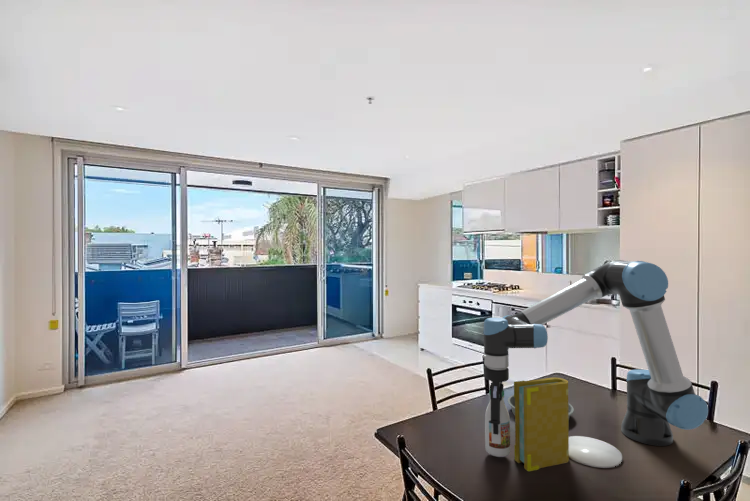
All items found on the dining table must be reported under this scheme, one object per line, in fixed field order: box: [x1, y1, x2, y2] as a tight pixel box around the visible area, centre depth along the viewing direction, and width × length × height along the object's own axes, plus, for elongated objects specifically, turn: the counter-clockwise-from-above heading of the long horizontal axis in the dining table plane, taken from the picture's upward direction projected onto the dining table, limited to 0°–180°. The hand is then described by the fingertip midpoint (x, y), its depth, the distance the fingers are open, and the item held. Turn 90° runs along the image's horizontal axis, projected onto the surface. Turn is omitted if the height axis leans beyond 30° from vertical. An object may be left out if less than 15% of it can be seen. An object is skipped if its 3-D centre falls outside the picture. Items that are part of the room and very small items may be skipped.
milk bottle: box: [484, 389, 511, 458], centre depth 126 cm, size 8×8×20 cm
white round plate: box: [569, 435, 623, 469], centre depth 128 cm, size 18×18×1 cm
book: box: [513, 377, 570, 472], centre depth 124 cm, size 17×7×25 cm, turn 106°
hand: (497, 436), depth 126 cm, fingers closed on milk bottle, 8 cm apart
